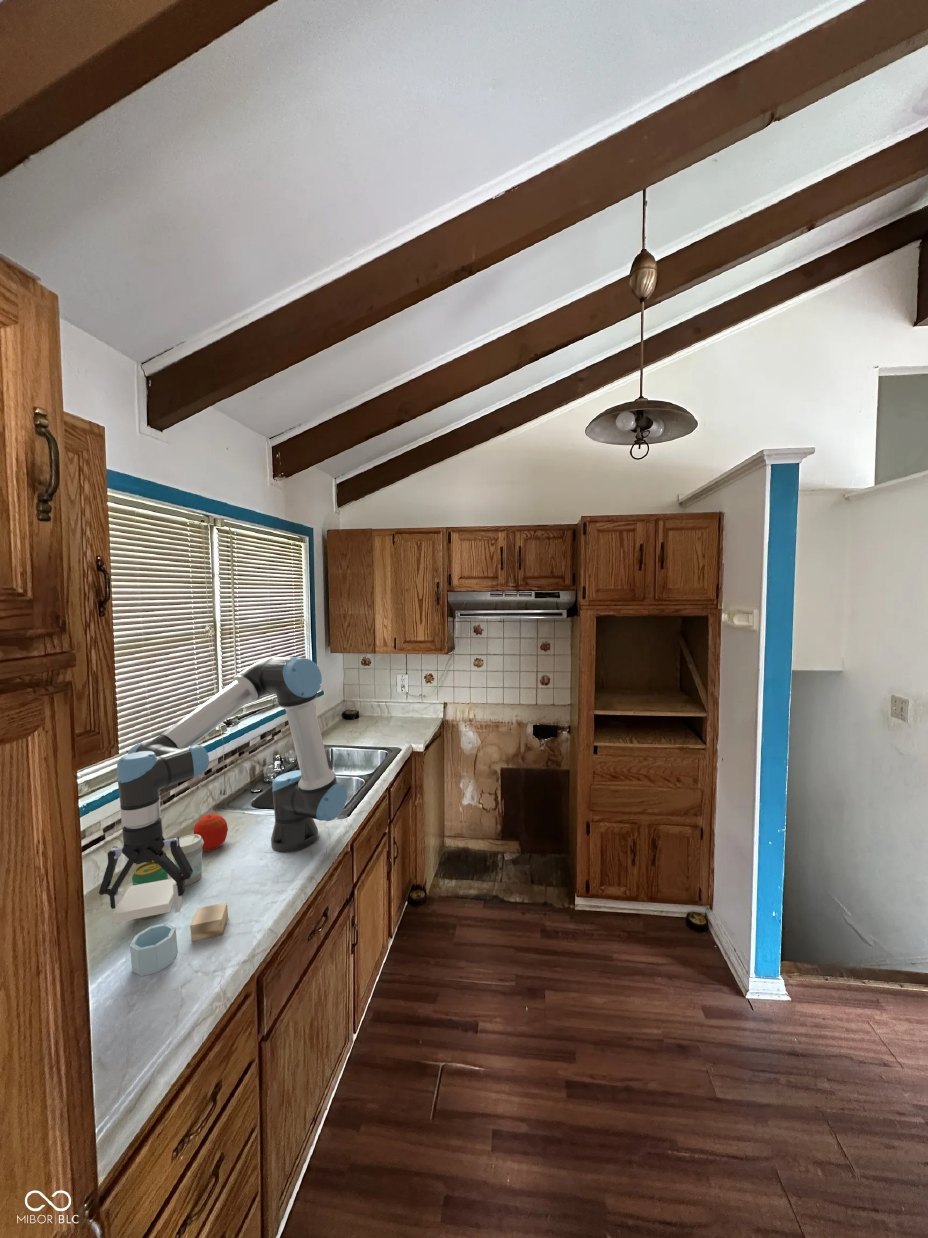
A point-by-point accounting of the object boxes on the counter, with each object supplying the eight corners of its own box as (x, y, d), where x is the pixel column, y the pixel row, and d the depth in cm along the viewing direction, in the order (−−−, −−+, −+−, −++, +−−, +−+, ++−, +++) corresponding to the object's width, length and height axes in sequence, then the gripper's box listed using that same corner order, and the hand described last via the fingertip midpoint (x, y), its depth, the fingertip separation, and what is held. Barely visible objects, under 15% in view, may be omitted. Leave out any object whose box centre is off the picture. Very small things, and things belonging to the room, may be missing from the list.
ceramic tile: (182, 884, 121) (181, 876, 121) (168, 912, 111) (167, 903, 111) (131, 894, 119) (130, 886, 118) (111, 923, 108) (111, 914, 108)
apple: (235, 840, 172) (232, 808, 171) (213, 856, 162) (210, 822, 161) (210, 838, 174) (207, 806, 173) (187, 854, 164) (184, 820, 164)
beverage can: (131, 912, 135) (127, 869, 134) (164, 897, 141) (160, 856, 140) (141, 924, 129) (136, 879, 129) (174, 908, 135) (170, 865, 135)
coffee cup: (192, 889, 144) (188, 848, 143) (167, 887, 146) (163, 847, 145) (213, 872, 152) (209, 834, 152) (188, 870, 154) (185, 832, 153)
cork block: (228, 917, 130) (226, 902, 130) (222, 934, 124) (221, 919, 123) (198, 923, 128) (197, 908, 128) (191, 941, 122) (190, 925, 121)
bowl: (180, 944, 121) (178, 920, 120) (170, 969, 113) (167, 944, 112) (141, 953, 119) (139, 928, 118) (127, 979, 111) (125, 953, 110)
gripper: (202, 806, 120) (209, 894, 122) (89, 823, 114) (98, 915, 115) (194, 819, 113) (202, 913, 114) (73, 838, 107) (83, 937, 108)
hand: (150, 914), depth 115 cm, fingers closed on ceramic tile, 11 cm apart
